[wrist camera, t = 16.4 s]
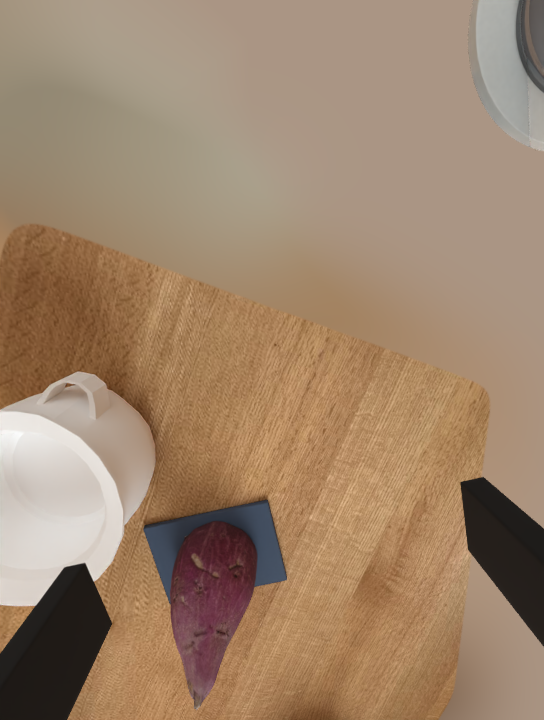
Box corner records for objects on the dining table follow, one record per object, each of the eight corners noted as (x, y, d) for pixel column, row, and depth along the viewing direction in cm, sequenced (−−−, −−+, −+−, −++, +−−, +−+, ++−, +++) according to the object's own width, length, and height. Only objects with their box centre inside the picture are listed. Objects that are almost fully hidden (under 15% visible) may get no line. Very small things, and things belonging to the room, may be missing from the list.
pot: (134, 541, 39) (79, 648, 28) (-2, 496, 38) (-125, 590, 26) (194, 390, 36) (160, 437, 24) (45, 331, 34) (-74, 351, 22)
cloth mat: (267, 499, 39) (267, 502, 38) (286, 576, 41) (287, 580, 41) (144, 525, 39) (142, 528, 38) (171, 600, 42) (169, 604, 41)
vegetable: (251, 565, 44) (261, 723, 31) (175, 569, 42) (152, 739, 29) (260, 516, 39) (278, 676, 26) (176, 518, 37) (148, 692, 24)
